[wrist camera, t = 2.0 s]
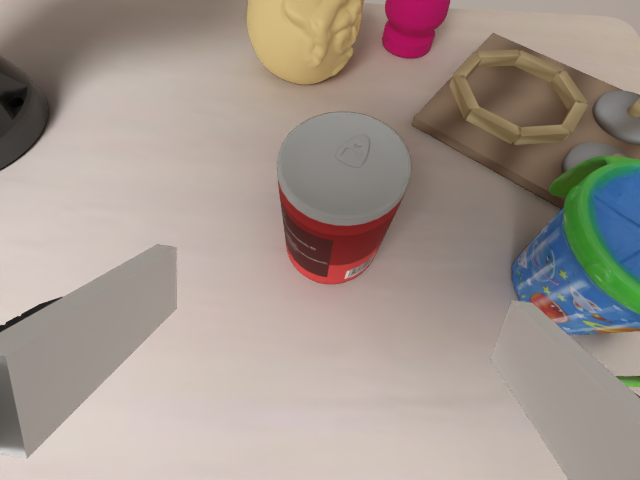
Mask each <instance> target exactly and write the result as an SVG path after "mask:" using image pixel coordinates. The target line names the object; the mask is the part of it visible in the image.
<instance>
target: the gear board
mask: <svg viewBox="0 0 640 480" xmlns="http://www.w3.org/2000/svg"><path fill="white" fill-rule="evenodd" d="M412 125H413V126H415V127H416V128H418V129H420V130H422V131H424V132H425V133H427V134H429V135H431V136H432V137H434V138H436V139H438V140H440V141H441V142H443V143H445V144H447V145H449V146H450V147H452V148H454V149H456V150H458V151H459V152H461V153H463V154H465V155H466V156H468V157H470V158H472V159H474V160H475V161H477V162H479V163H481V164H483V165H484V166H486V167H488V168H490V169H491V170H493V171H495V172H497V173H499V174H500V175H502V176H504V177H506V178H508V179H509V180H511V181H513V182H515V183H517V184H518V185H520V186H522V187H524V188H525V189H527V190H529V191H531V192H533V193H534V194H536V195H538V196H540V197H542V198H543V199H545V200H547V201H549V202H550V203H552V204H554V205H556V206H558V207H559V208H561V209H562V208H563V207H564V203H565V199H566V197H562V196H555V195H552V194H551V193H550V191H549V188H550V186H551V184H552V183H553V182H554V180H555V179H557V178H558V177H559V176H561V175H562V174H563V173H565V172H567V171H568V170H569V169H571V168H573V167H575V166H576V165H578V164H579V163H581V162H583V161H586V160H588V159H590V158H593V157H596V156H617V157H625V158H632V159H639V160H640V95H638V94H635V93H632V92H628V91H623V90H621V89H619V88H616V87H614V86H612V85H610V84H607V83H605V82H603V81H601V80H598V79H596V78H594V77H592V76H589V75H587V74H585V73H583V72H580V71H578V70H576V69H574V68H571V67H569V66H567V65H564V64H562V63H560V62H558V61H555V60H553V59H551V58H549V57H546V56H544V55H542V54H540V53H537V52H535V51H533V50H531V49H528V48H526V47H524V46H522V45H519V44H517V43H515V42H512V41H510V40H508V39H506V38H503V37H501V36H499V35H497V34H494V33H493V34H492V35H491V36H490V37H489V38H488V39H487V40H486V41H485V42H484V43H483V44H482V45H481V46H480V47H479V49H478V50H477V51H476V52H474V53H473V54H472V55H471V56H470V57H469V58H468V59H467V60H466V61H465V62H464V63H463V64H462V66H461V67H460V68H459V69H458V70H457V71H456V72H455V73H454V75H453V76H452V78H451V79H450V80H449V81H448V82H447V83H446V84H445V85H444V86H443V87H442V88H441V89H440V90H439V91H438V93H437V94H436V95H435V96H434V97H433V98H432V99H431V100H430V101H429V102H428V103H427V104H426V105H425V107H424V108H423V109H422V110H421V111H420V112H419V113H418V114H417V115H416V116H415V117H414V120H413V122H412Z"/></svg>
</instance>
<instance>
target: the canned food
mask: <svg viewBox="0 0 640 480" xmlns="http://www.w3.org/2000/svg"><path fill="white" fill-rule="evenodd" d="M277 164H278V167H277V173H278V185H279V193H280V201H281V208H282V216H283V223H284V231H285V238H286V246H287V252H288V255H289V258H290V260H291V262H292V263H293V265H294V266H295V267H296V269H297V270H298V271H299V272H300V273H302V274H303V275H304V276H306V277H307V278H309V279H311V280H313V281H315V282H318V283H323V284H339V283H344V282H346V281H349V280H352V279H354V278H355V277H357V276H359V275H360V274H361V273H362V272H364V271H365V270H366V269H367V268H368V266H369V265H370V263H371V262H372V260H373V258H374V256H375V254H376V252H377V250H378V248H379V246H380V244H381V242H382V240H383V238H384V236H385V234H386V232H387V230H388V228H389V225H390V223H391V221H392V219H393V217H394V215H395V213H396V211H397V209H398V207H399V205H400V202H401V200H402V198H403V196H404V194H405V191H406V189H407V186H408V182H409V179H410V174H411V160H410V155H409V152H408V149H407V147H406V145H405V144H404V142H403V140H402V139H401V137H400V136H399V135H398V134H397V133H396V132H395V131H394V130H393V129H392V128H390V127H389V126H388V125H386V124H385V123H383V122H381V121H379V120H378V119H376V118H373V117H370V116H367V115H365V114H360V113H355V112H341V111H339V112H330V113H325V114H321V115H317V116H315V117H312V118H310V119H308V120H306V121H304V122H303V123H301V124H300V125H298V126H297V127H296V128H295V129H294V130H292V131H291V132H290V133H289V134H288V136H287V137H286V139H285V140H284V142H283V144H282V146H281V149H280V151H279V156H278V163H277Z"/></svg>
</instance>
